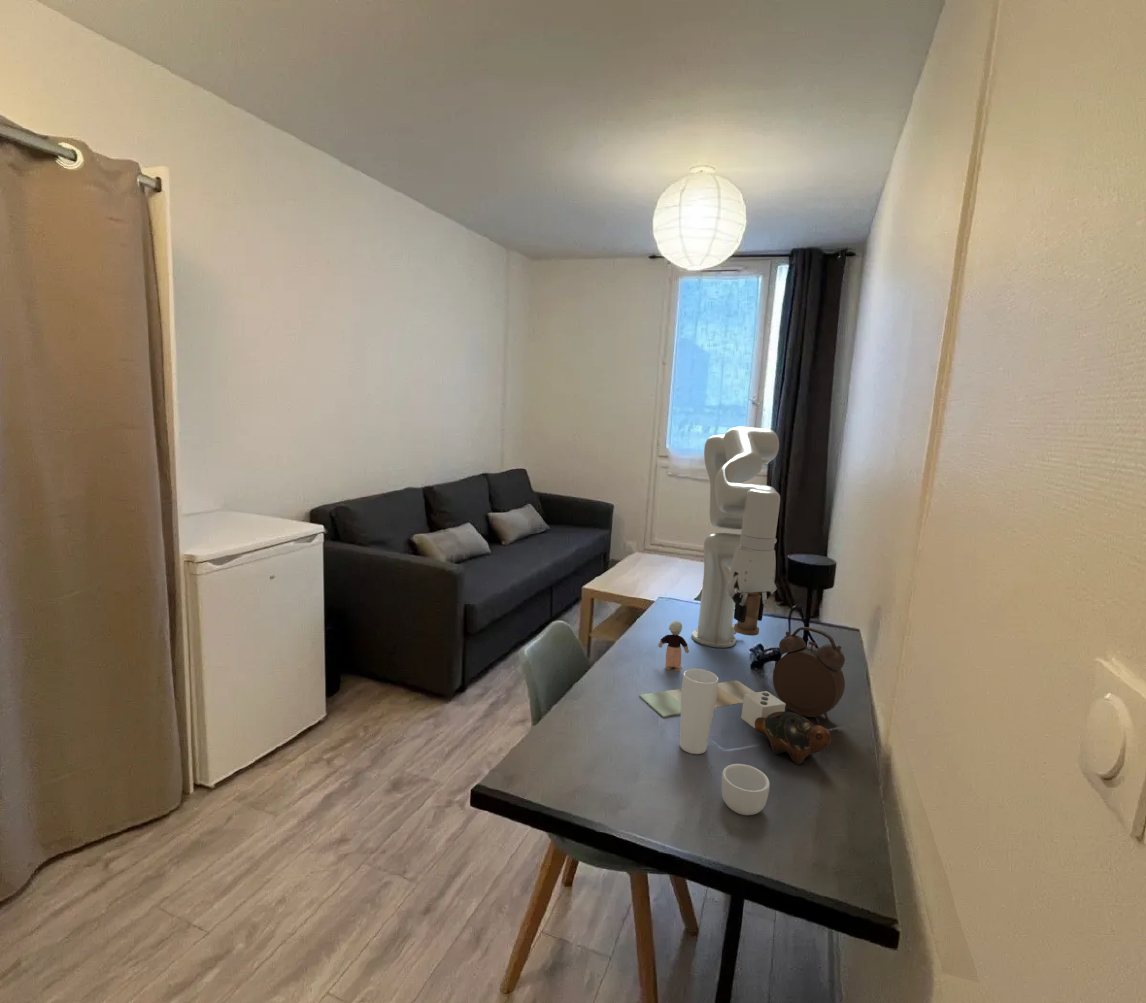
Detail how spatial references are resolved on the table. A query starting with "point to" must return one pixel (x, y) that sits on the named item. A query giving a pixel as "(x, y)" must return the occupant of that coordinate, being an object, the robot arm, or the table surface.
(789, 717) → the decorative turtle
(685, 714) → the drinking glass
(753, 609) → the pawn
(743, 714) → the die
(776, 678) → the alarm clock
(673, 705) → the track board
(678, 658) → the grandmother figurine
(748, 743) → the table surface
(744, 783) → the teacup
